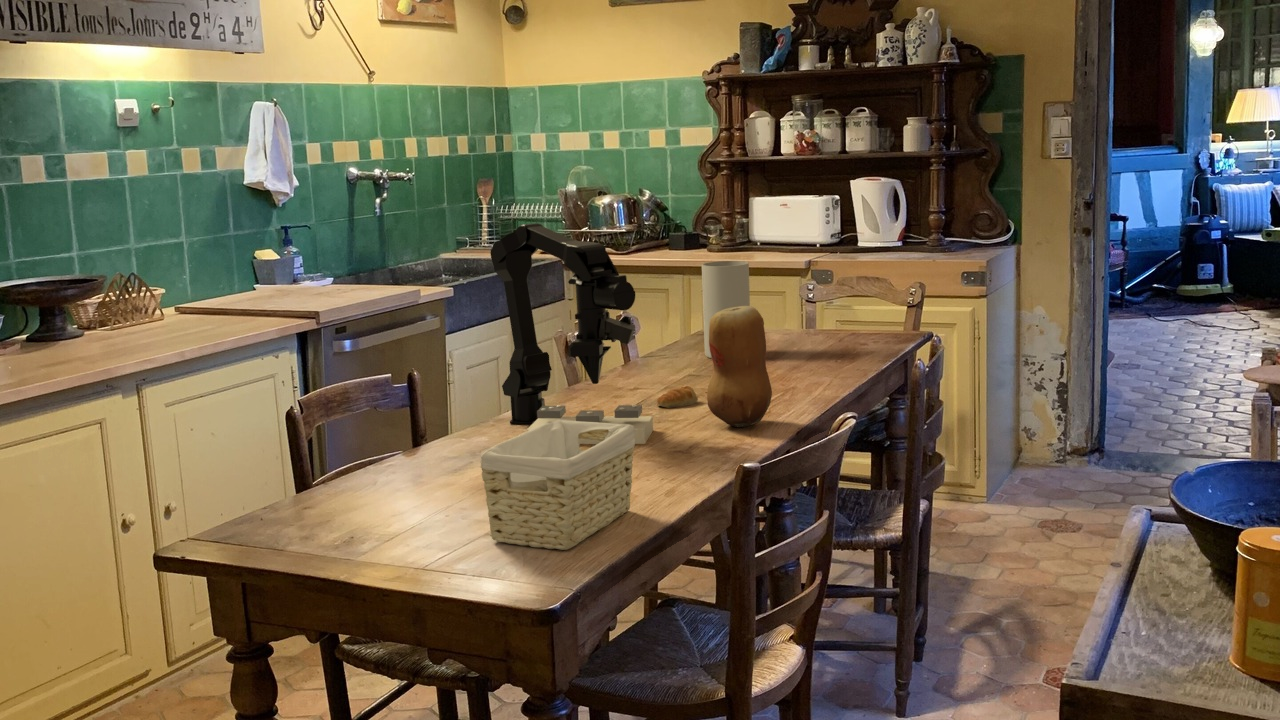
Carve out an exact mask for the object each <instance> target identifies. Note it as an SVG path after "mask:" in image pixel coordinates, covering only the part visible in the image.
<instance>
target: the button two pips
mask: <svg viewBox="0 0 1280 720" xmlns="http://www.w3.org/2000/svg"><path fill="white" fill-rule="evenodd" d="M614 409H615V410H614V416H615V418H639V416H642V414H643V405H642V404H629V405H628V404H623V405H622V404H618V406H617V407H616V408H614Z"/></svg>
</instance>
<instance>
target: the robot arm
mask: <svg viewBox="0 0 1280 720" xmlns="http://www.w3.org/2000/svg"><path fill="white" fill-rule="evenodd" d="M538 250H539V251H542V252H544V253H547V254H548V255H550V256H553V257H555V258H556V259H559V260H561V261H562V262H563V265H564V267H565V268H566V269H568V270H569V271H570V272H572V273H573V276H572V277H571V278H570V279H568V284H569V285H575V294H576V295H575V296H576V313H575V314H574V319H575V320H577V330H578V331H577V333H576V334H575V336H576V339H575V340H574V341H572V342H571V343H570V344H569V345H568V346H567V348H568V349H567V350H568V357H571V358H572V357H574V358H575V357H576V358H578V359H579V361H580V362H581V365H582V366H583V368H584V370H585V372H586V373H587V375H588V378H589V379H590V381H591V383H592V385H597V384H599V382H600V376H601V371H602V366H603V361H604V360H603V359H604V356H605V355H606V354H607V353H608V351H609V350H611V348H612V346H609V345H608V346H605V343H604V341H611V343H615V342H616V341H619V342H620V343H622V344H625V345H629V344H630V342H632V339H633V337H634V333H635V332H636V326H635V324H633V321H632V317H630V316H627V315H623V317H622V318H621V319H620V320H619V319H618V318H615V319H614V318H611V317H610V311H608V310H615V311H628V310H630V309H631V308H632V306H633V305H634V303H635V301H636V290H635V288H634V286H633V285H632V284H631V283H630V282H629V281H627V275H626V274H620V273H619V272H618V270H617V267H616V266H615V264H614V262H613V261H612V259H611V257H610V255H609V253H608V252H607V250H606V247H605V246H604V245H603V244H602V243H599V242H594V241H581V240H574V239H573V238H570V237H569V236H566V235H563V234H561V233H558V232H556V231H554V230H552V229H550V228H546V227H545V226H543V224H541V223H538V222H535V223H526V224H521V225H520V226H518V227H517V228H516V229H515V230H514V231H512V232H511V233H509V234H507V235H505V236H502V238H500V239H499V240H497V241H495V242H494V243H493V244H492V247H491V248H490V251H489V253H490V259H491V262H492V265H493V269H494V272H495V273H496V274H497V276H498V277H499V278H500V280H501V281H502V282H503V285H504V292H505V298H506V303H507V309H508V310H507V311H508V316H509V321H510V322H509V323H510V328H511V334H512V335H511V337H512V341H513V349H514V350H513V352H512V355H511V358H510V359H509V373H508V375H507V377H506V379H505V381H504V382H503V383H502V384H501V388H502V391H503V395H504V396H508V397H510V409H511V410H510V412H511V420H510V421H509V424H513V425H514V424H515V425H517V424H521V425H523V424H527V425H529V424H530V425H532V424H533V423H534V422H535V421H536V420H537V419H538V418H537V411H538V410H539V409H540V408H541V407H542V406H546V404H545V398H544V397H543V396H542V395H543V394H542V392H547V391H548V389H549V385H550V384H549V383H550V379H551V373H552V370H553V369H552V366H551V364H550V363H551V362H550V355H549V352H548V351H543V350H542V349H541V348H540V346H539V345H538V340H537V335H536V328H535V322H534V321H535V320H534V315H533V308H532V304H531V303H532V302H531V295H530V290H529V283H528V276H530V275H529V274H530V272H531V270H532V267H533V257H532V256H534V254H535V253H537V251H538Z"/></svg>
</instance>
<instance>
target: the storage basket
mask: <svg viewBox="0 0 1280 720" xmlns="http://www.w3.org/2000/svg"><path fill="white" fill-rule="evenodd" d="M579 438H582V439H591V440H598V441H602V442H600V443H599V444H594V445H592V447H590V448H587V449H580V445H581V444H579ZM635 445H636V444H635V439H634V426H632V425H629V424H623V425H622V424H611V423H598V422H581V421H565V420H557V421H555V422H551V423H547V424H543V425H541V426H538V427H536V428H533V429H531V430H529V431H527V430H526V431H525V432H523V433H520V434H519V435H518V434H517V435H516V436H514V437H511V438H509V439H506V440H504V441H502V442H499V443H497V444H495V445H493V446H492V447H490V448H488V449H487V450H485V451H484V452H483V453H481V454H480V469H481V470H482V471H481V477H482V481H483V482H484V483H483V486H484V490H485V496H486V497H485V501H486V506H487V514H488V515H487V516H488V518H489V529H490V535H489V536H490V537H491V540H493V541H496V542H499V543H506V544H509V545H518V546H530V547H532V548H545V549H549V550H552V549H556V550H560V551H561V550H563V551H566V550H570V549H572V548H573V547H575V546H577V545H578V544H580V543H581V542H583V541H584V540H585V539H587V538H588V537H590V536H592V535H594V534H595V533H596V532H597V531H600V530H601V529H603V528H605V527H607V526H609V525H610V524H611V523H612V522H613V521H616V520H617V518H619V517H621V516H623V515H624V514H625V513H627V512H628V511H629V510H630V508H631V492H632V483H633V481H632V480H633V478H632V475H633V461H634V460H633V459H634V455H633V454H634V451H635Z"/></svg>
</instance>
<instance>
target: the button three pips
mask: <svg viewBox="0 0 1280 720" xmlns="http://www.w3.org/2000/svg"><path fill="white" fill-rule="evenodd" d="M566 409H567V408H566V405H560V404H559V405H558V404H557V405H545V406H542V407H541V408H540V409H539V410H538V411H537V418H561V417H564V415H565V414H566V412H567V410H566Z"/></svg>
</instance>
